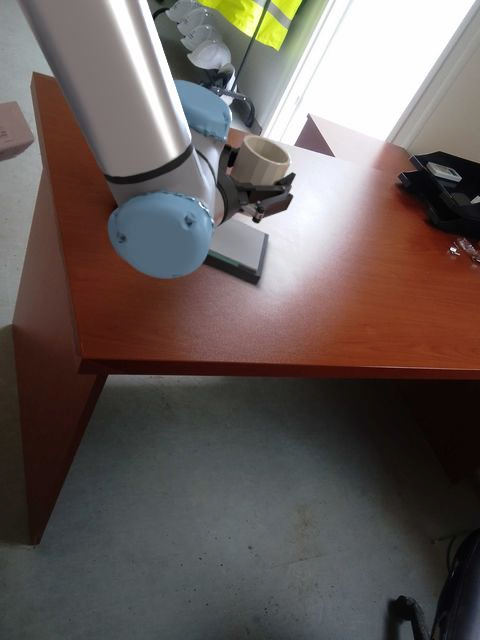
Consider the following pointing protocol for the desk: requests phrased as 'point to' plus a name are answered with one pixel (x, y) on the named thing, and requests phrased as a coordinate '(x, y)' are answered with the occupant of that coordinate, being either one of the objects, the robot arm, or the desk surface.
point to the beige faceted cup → (260, 163)
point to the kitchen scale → (238, 250)
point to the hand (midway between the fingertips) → (269, 165)
